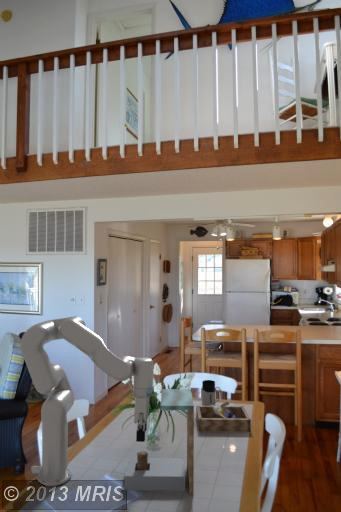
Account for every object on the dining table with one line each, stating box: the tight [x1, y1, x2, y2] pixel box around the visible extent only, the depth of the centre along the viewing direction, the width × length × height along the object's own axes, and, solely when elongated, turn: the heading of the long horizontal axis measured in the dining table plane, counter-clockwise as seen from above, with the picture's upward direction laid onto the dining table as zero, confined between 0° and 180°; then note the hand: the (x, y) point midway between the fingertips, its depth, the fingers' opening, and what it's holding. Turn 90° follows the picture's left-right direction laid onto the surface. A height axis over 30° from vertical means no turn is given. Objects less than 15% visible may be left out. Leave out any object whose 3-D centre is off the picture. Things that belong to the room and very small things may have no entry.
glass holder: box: [201, 379, 222, 406], centre depth 228 cm, size 9×14×15 cm, turn 38°
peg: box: [136, 450, 149, 470], centre depth 149 cm, size 4×4×10 cm
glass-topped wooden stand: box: [160, 388, 195, 496], centre depth 150 cm, size 12×20×32 cm, turn 0°
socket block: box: [124, 457, 186, 492], centre depth 149 cm, size 22×14×5 cm, turn 90°
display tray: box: [195, 405, 252, 433], centre depth 205 cm, size 26×20×6 cm
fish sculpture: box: [211, 401, 236, 418], centre depth 204 cm, size 12×20×15 cm
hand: (141, 435), depth 150 cm, fingers open, 9 cm apart
